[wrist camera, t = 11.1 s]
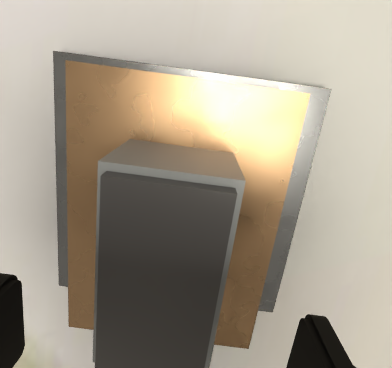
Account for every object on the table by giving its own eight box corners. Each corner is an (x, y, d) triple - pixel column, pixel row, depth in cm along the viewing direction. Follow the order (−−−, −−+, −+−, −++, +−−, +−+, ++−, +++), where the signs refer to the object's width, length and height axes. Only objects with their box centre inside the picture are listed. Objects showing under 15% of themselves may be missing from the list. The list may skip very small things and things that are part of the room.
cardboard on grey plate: (269, 302, 23) (287, 359, 18) (65, 277, 22) (27, 327, 18) (324, 88, 18) (369, 89, 13) (61, 52, 17) (7, 39, 13)
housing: (233, 152, 14) (248, 186, 9) (206, 304, 17) (207, 389, 12) (129, 138, 14) (91, 165, 9) (120, 293, 17) (87, 375, 12)
